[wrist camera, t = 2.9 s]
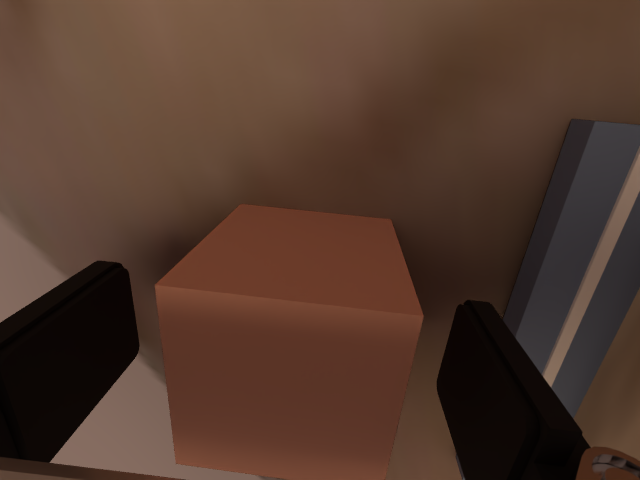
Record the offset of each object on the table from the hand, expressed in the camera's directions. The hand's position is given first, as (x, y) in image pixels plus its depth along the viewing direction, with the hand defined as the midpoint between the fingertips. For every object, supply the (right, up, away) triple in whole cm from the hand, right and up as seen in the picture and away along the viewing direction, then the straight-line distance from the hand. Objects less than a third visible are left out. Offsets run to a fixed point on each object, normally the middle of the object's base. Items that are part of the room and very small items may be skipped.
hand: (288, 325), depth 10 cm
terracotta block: (+1, +1, +3) cm, 3 cm away
